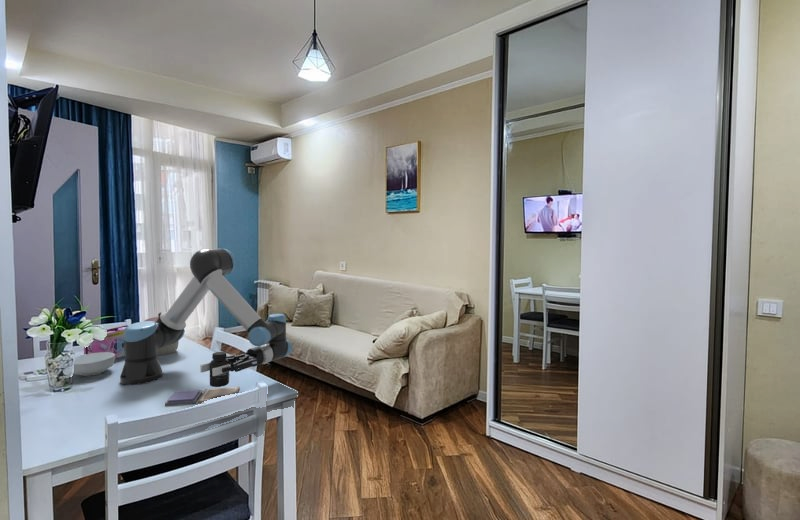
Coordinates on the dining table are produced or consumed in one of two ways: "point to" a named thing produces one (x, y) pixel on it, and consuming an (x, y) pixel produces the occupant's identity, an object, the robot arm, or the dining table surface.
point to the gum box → (109, 343)
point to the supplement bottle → (218, 361)
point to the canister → (168, 348)
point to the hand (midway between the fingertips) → (207, 370)
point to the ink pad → (184, 397)
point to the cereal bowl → (93, 363)
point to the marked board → (217, 393)
